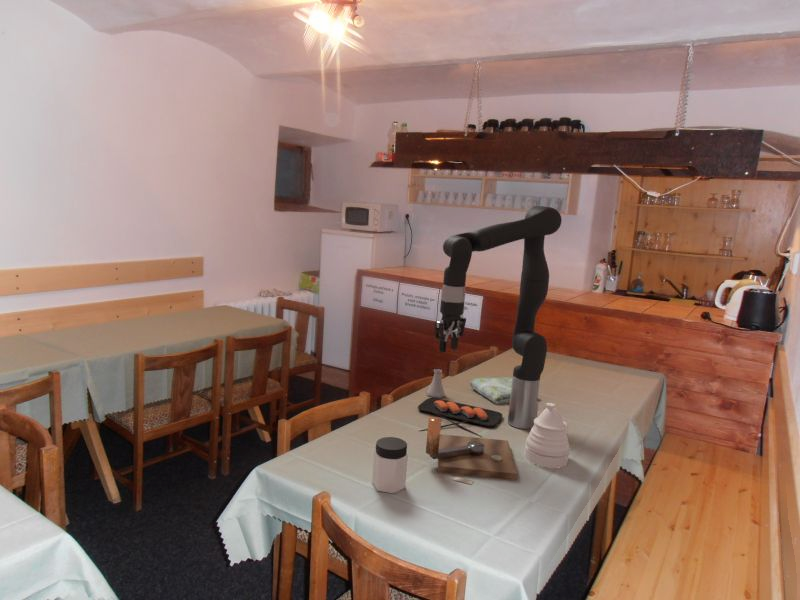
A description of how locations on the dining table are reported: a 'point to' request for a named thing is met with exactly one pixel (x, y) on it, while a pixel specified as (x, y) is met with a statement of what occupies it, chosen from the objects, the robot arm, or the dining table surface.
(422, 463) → the dining table surface
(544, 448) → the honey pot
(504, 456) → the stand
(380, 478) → the jar
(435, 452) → the lever
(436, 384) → the flask
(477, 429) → the dining table surface
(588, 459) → the dining table surface
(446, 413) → the sushi plate
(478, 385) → the towel
